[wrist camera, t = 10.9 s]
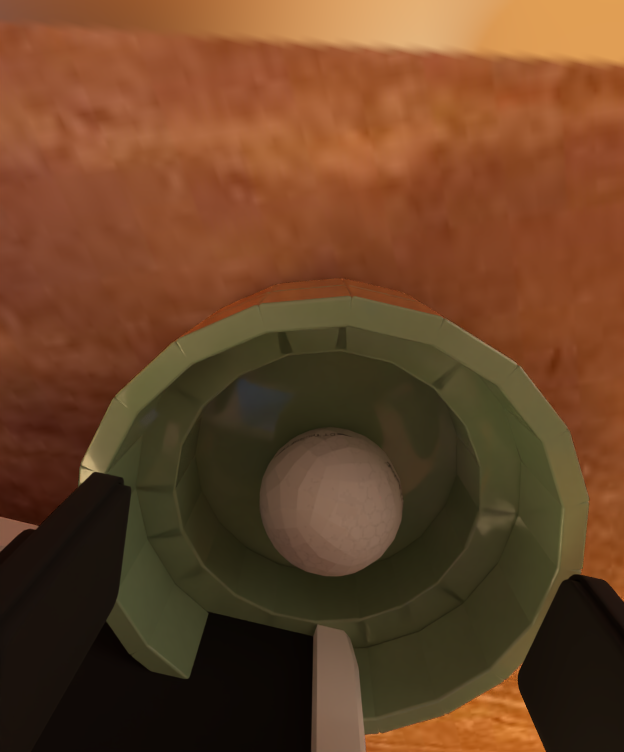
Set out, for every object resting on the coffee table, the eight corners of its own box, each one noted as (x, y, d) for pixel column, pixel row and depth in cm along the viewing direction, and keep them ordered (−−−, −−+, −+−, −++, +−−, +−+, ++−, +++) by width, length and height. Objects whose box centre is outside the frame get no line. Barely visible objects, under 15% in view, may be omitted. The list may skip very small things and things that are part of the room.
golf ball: (417, 458, 14) (452, 537, 11) (336, 539, 15) (341, 638, 12) (322, 381, 14) (322, 436, 10) (242, 471, 15) (215, 552, 11)
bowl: (555, 326, 14) (680, 372, 9) (439, 621, 17) (486, 771, 12) (178, 237, 13) (98, 236, 8) (135, 560, 16) (59, 692, 12)
